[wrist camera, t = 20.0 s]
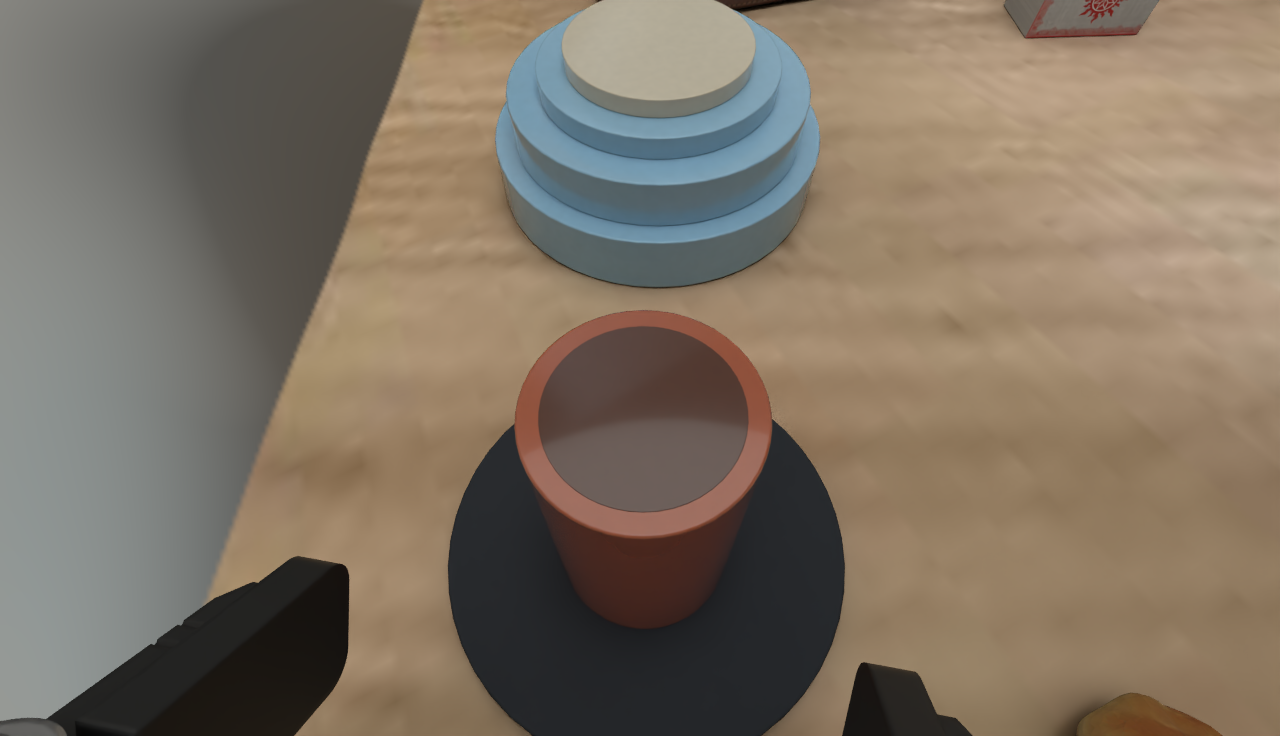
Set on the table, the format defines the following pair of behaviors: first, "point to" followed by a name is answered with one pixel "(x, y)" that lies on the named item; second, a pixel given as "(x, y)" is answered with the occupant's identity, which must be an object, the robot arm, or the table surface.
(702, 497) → the tumbler
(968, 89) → the table surface
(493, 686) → the mat
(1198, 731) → the pastry
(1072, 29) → the tea box
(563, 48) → the tiered blue disc stack
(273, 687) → the robot arm
